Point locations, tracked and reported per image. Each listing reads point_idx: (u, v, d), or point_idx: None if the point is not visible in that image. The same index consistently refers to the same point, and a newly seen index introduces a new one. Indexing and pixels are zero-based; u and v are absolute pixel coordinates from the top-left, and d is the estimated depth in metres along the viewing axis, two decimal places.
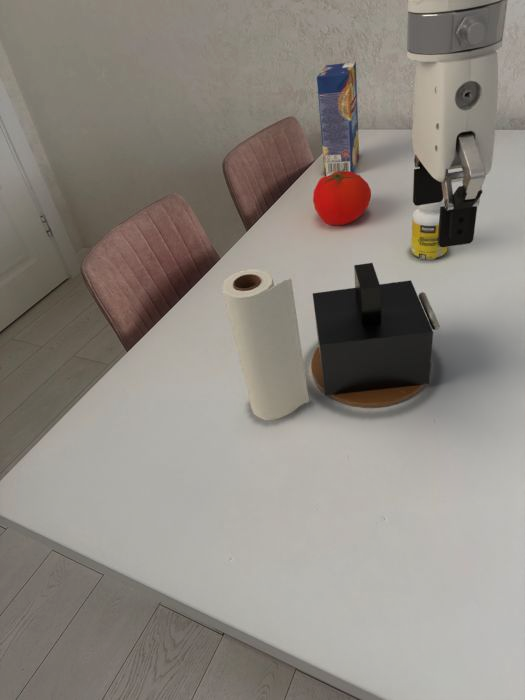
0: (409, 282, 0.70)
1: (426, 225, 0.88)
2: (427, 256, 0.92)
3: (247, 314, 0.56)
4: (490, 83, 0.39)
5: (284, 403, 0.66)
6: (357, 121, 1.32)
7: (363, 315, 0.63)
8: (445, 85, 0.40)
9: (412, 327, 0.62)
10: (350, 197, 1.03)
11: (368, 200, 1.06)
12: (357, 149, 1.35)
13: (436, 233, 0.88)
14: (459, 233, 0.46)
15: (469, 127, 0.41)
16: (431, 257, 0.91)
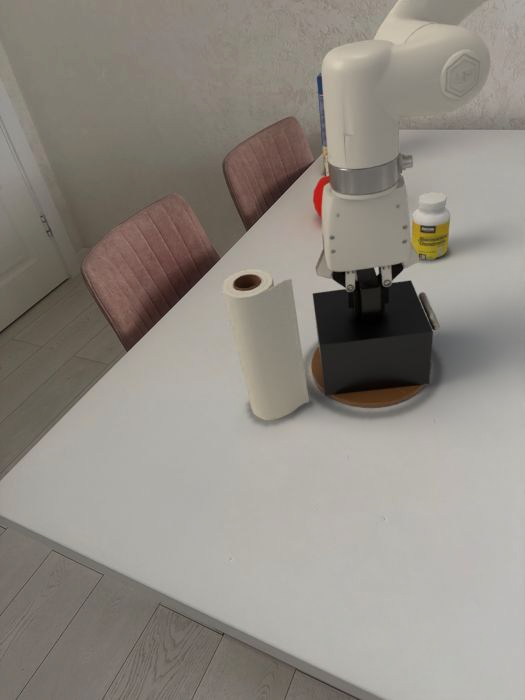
0: (409, 282, 0.70)
1: (426, 225, 0.88)
2: (427, 256, 0.92)
3: (247, 314, 0.56)
4: None
5: (284, 403, 0.66)
6: None
7: (363, 315, 0.63)
8: (406, 199, 0.55)
9: (412, 327, 0.62)
10: None
11: None
12: None
13: (436, 233, 0.88)
14: None
15: None
16: (431, 257, 0.91)
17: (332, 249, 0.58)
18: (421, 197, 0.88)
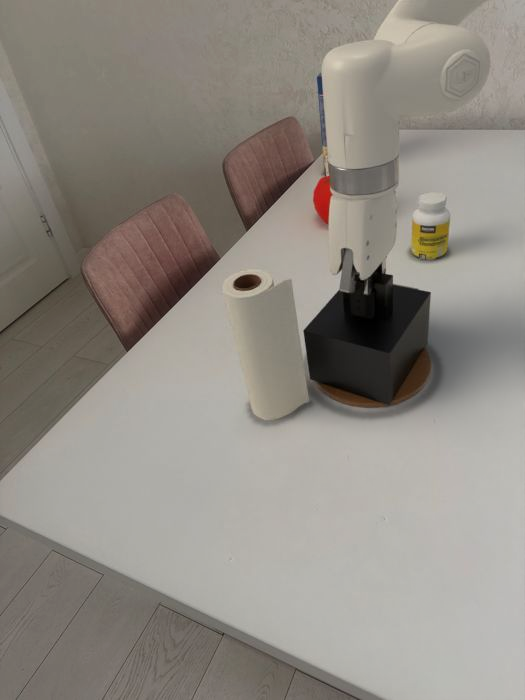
0: None
1: (426, 225, 0.88)
2: (427, 256, 0.92)
3: (247, 314, 0.56)
4: None
5: (284, 403, 0.66)
6: None
7: (386, 310, 0.63)
8: None
9: (415, 298, 0.67)
10: None
11: None
12: None
13: (436, 233, 0.88)
14: None
15: None
16: (431, 257, 0.91)
17: (367, 255, 0.56)
18: (421, 197, 0.88)
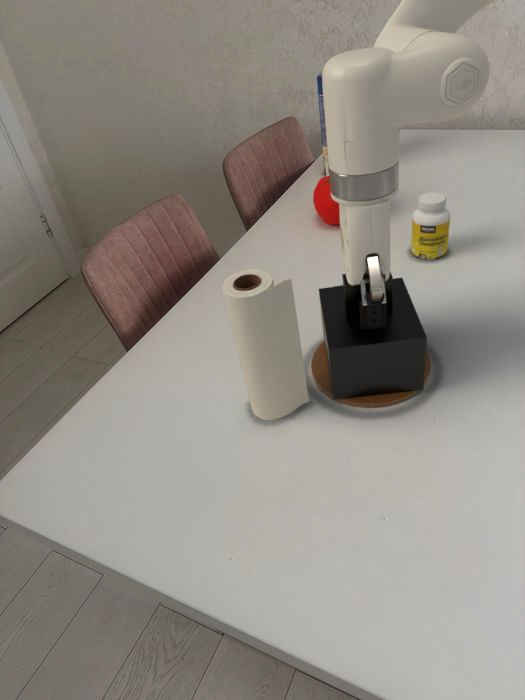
0: (322, 289, 0.72)
1: (426, 225, 0.88)
2: (427, 256, 0.92)
3: (247, 314, 0.56)
4: None
5: (284, 403, 0.66)
6: None
7: (392, 302, 0.64)
8: None
9: (396, 286, 0.70)
10: None
11: None
12: None
13: (436, 233, 0.88)
14: None
15: None
16: (431, 257, 0.91)
17: None
18: (421, 197, 0.88)
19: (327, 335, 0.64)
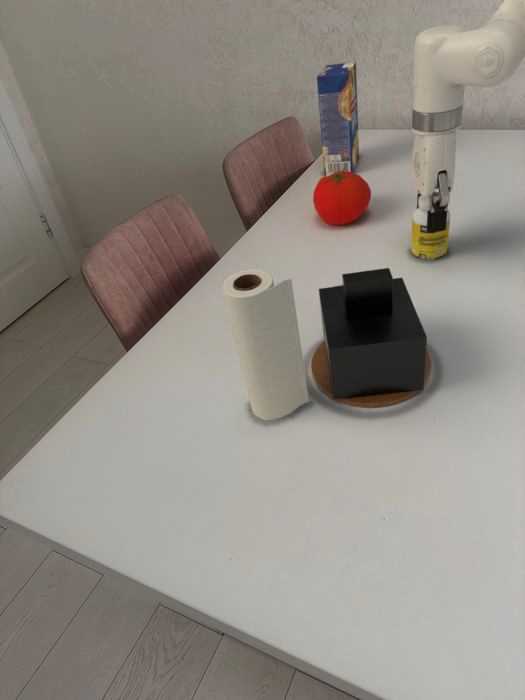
0: (322, 289, 0.72)
1: (426, 225, 0.88)
2: (427, 256, 0.92)
3: (247, 314, 0.56)
4: None
5: (284, 403, 0.66)
6: (357, 121, 1.32)
7: (392, 302, 0.64)
8: None
9: (396, 286, 0.70)
10: (350, 196, 1.03)
11: (368, 200, 1.06)
12: (357, 149, 1.35)
13: (436, 233, 0.88)
14: None
15: None
16: (431, 257, 0.91)
17: None
18: (421, 197, 0.88)
19: (327, 335, 0.64)
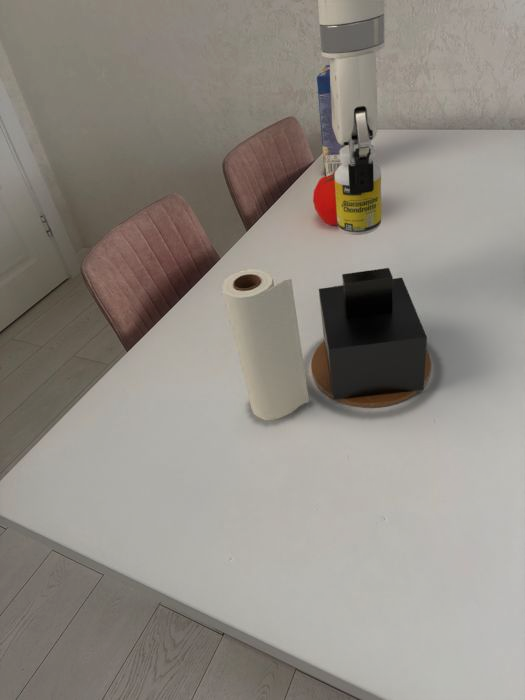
0: (322, 289, 0.72)
1: None
2: (354, 226, 0.72)
3: (247, 314, 0.56)
4: None
5: (284, 403, 0.66)
6: None
7: (392, 302, 0.64)
8: None
9: (396, 286, 0.70)
10: None
11: None
12: None
13: (363, 196, 0.69)
14: None
15: None
16: (359, 227, 0.72)
17: (376, 111, 0.61)
18: (343, 149, 0.69)
19: (327, 335, 0.64)
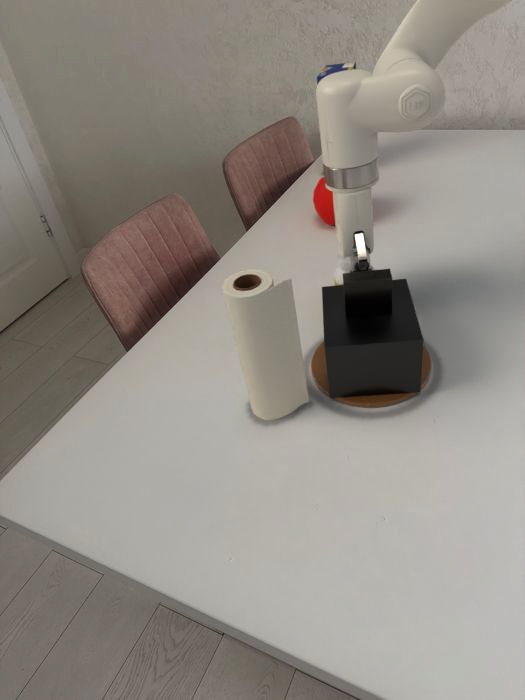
0: (325, 287, 0.72)
1: None
2: None
3: (247, 314, 0.56)
4: None
5: (284, 403, 0.66)
6: None
7: (392, 303, 0.64)
8: None
9: (399, 287, 0.69)
10: None
11: None
12: None
13: None
14: None
15: None
16: None
17: None
18: None
19: (325, 333, 0.64)
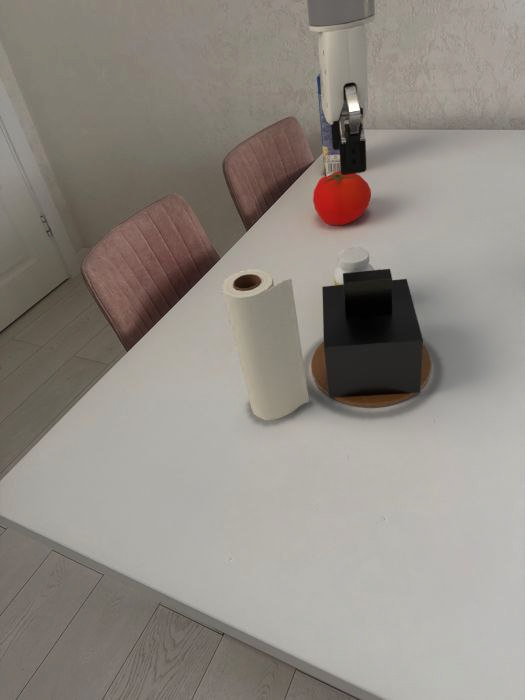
0: (326, 287, 0.72)
1: None
2: None
3: (247, 314, 0.56)
4: None
5: (284, 403, 0.66)
6: None
7: (392, 303, 0.64)
8: None
9: (399, 287, 0.69)
10: (350, 196, 1.03)
11: (368, 200, 1.06)
12: None
13: None
14: None
15: None
16: None
17: (367, 88, 0.58)
18: (341, 254, 0.77)
19: (324, 333, 0.64)
